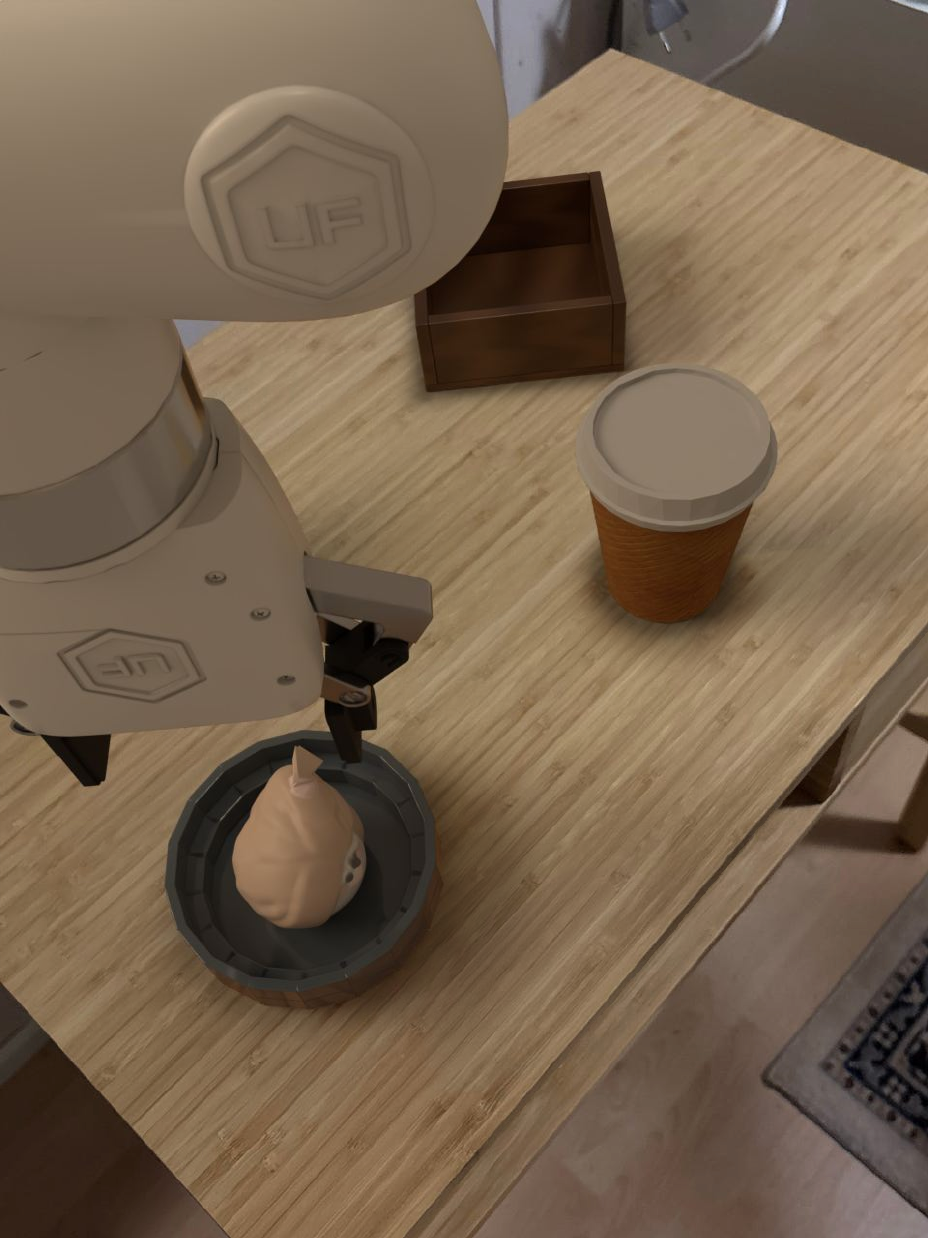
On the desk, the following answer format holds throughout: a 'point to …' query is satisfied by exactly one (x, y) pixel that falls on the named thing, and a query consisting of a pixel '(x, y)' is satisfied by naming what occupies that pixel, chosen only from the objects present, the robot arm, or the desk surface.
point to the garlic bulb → (299, 848)
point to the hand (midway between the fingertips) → (226, 739)
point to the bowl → (351, 938)
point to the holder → (529, 292)
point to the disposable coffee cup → (673, 482)
